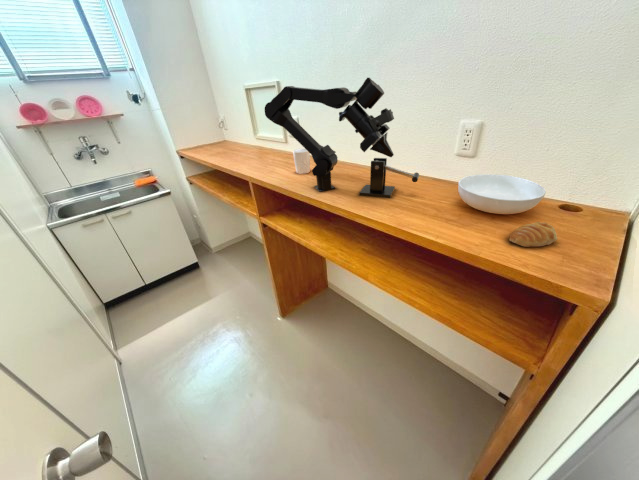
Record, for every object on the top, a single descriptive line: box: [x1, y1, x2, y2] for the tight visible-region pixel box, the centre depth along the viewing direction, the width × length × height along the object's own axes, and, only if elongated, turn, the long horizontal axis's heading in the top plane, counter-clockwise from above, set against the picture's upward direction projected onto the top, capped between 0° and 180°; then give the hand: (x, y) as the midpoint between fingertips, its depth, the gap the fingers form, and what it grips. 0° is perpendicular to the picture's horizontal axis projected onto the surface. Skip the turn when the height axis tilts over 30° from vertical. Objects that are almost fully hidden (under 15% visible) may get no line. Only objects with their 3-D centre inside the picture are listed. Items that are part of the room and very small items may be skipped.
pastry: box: [509, 221, 558, 248], centre depth 58 cm, size 9×7×4 cm
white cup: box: [292, 148, 311, 175], centre depth 119 cm, size 8×8×10 cm
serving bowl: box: [457, 173, 547, 215], centre depth 74 cm, size 21×21×7 cm
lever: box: [376, 160, 420, 183], centre depth 86 cm, size 15×5×2 cm, turn 67°
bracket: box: [358, 157, 396, 199], centre depth 89 cm, size 11×9×12 cm
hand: (392, 156), depth 84 cm, fingers closed
